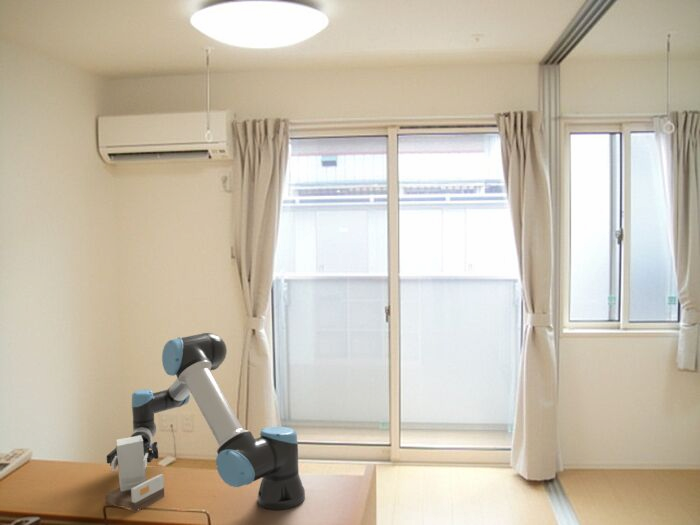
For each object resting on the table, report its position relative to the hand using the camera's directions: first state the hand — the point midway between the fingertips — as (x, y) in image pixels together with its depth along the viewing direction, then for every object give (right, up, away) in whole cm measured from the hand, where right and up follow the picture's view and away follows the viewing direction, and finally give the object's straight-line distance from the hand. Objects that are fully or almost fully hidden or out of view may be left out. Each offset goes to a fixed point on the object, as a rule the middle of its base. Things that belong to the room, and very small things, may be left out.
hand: (128, 466), depth 188 cm
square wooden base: (0, -13, +5) cm, 14 cm away
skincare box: (-1, -8, +5) cm, 10 cm away
